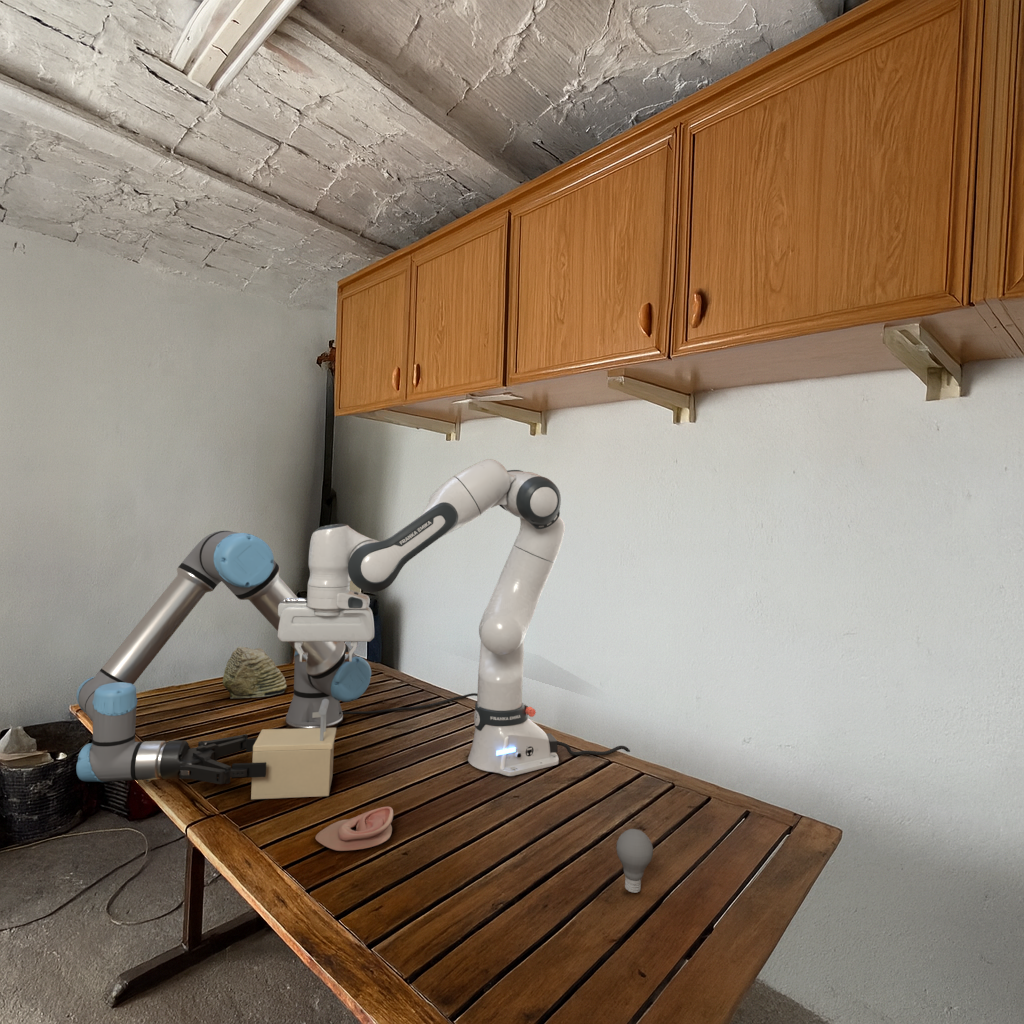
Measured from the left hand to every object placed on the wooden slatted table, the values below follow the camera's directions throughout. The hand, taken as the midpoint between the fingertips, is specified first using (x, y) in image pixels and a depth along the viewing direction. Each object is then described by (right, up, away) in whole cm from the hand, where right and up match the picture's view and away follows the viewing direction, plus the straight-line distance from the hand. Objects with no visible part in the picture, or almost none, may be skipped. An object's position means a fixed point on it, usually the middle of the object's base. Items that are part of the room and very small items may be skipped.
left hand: (272, 756), depth 136 cm
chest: (+4, -7, +1) cm, 8 cm away
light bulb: (+72, -11, -31) cm, 79 cm away
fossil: (-29, -5, +62) cm, 68 cm away
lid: (+5, +3, +1) cm, 6 cm away
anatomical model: (+22, -8, -18) cm, 30 cm away
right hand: (+11, +20, +2) cm, 23 cm away
